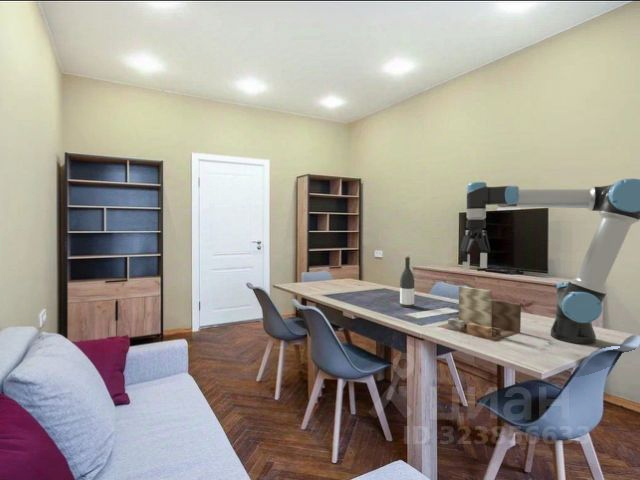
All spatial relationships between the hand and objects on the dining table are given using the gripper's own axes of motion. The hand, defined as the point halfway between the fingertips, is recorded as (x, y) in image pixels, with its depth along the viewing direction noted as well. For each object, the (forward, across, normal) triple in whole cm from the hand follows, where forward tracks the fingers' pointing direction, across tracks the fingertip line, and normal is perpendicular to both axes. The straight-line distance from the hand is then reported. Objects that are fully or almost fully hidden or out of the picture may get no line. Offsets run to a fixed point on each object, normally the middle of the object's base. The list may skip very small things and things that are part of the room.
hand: (474, 268), depth 148 cm
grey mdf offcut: (+26, +5, -5) cm, 27 cm away
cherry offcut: (+26, +5, +5) cm, 27 cm away
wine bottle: (+28, -20, -53) cm, 63 cm away
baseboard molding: (+29, -15, -33) cm, 46 cm away
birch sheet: (+26, 0, 0) cm, 27 cm away
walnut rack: (+28, -3, 0) cm, 28 cm away
